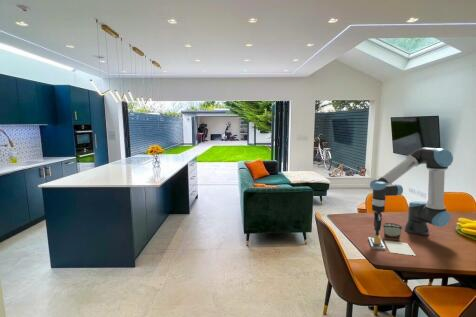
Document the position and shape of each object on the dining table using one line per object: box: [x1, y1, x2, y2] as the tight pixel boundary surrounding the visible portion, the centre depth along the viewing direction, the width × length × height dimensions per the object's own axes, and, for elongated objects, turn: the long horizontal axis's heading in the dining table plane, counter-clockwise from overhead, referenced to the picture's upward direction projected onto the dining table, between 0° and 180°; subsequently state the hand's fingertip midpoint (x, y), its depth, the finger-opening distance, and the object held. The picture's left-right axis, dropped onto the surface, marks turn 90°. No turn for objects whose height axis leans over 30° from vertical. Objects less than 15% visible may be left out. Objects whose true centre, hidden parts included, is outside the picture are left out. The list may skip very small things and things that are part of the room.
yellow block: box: [373, 234, 382, 245], centre depth 169 cm, size 3×4×5 cm
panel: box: [367, 236, 387, 251], centre depth 172 cm, size 8×15×2 cm, turn 161°
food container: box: [382, 222, 403, 241], centre depth 183 cm, size 12×6×10 cm, turn 71°
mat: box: [383, 240, 417, 257], centre depth 167 cm, size 14×18×1 cm
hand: (376, 238), depth 172 cm, fingers closed
